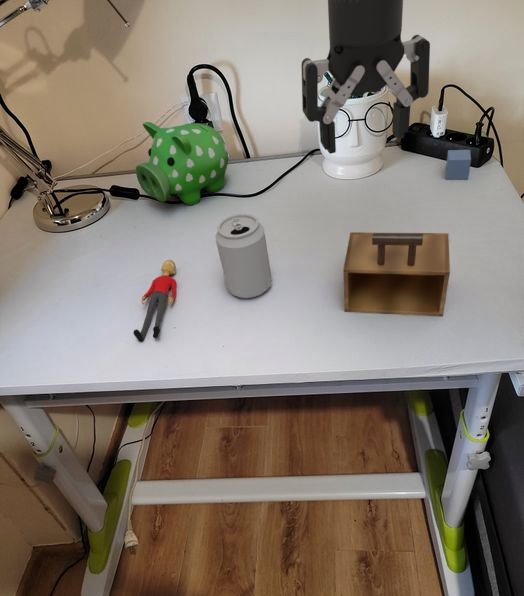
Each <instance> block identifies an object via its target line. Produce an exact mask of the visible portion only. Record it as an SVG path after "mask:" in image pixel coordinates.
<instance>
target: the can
mask: <svg viewBox="0 0 524 596" xmlns="http://www.w3.org/2000/svg"><path fill="white" fill-rule="evenodd" d="M216 228H217V231H216V233H215V235H214V237H215V243H216V248H217V252H218V255H219V260H220V264H221V268H222V272H223V273H222V274H223V276H224V281H225V285H226V289H227V291H228V292H229V293H230V294H231V295H233V296H235V297H238V298H241V299H253V298H257V297H259V296H261V295H262V294H264V293H265V292H266V291H268V289H269V288H270V287H271V286H272V283H273V277H272V271H271V264H270V258H269V251H268V245H267V239H266V238H267V237H266V233H265V227H264V225H262V224H261V222H259V219H258V217H256V216H255V215H253V214H250V213H236V214H231V215H229V216H226V217H225V218H223V219H222V220H220V221H219V223H218V225H217V227H216Z"/></svg>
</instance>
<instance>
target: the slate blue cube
mask: <svg viewBox="0 0 524 596" xmlns="http://www.w3.org/2000/svg"><path fill="white" fill-rule="evenodd" d="M471 163H472V155H471V149H450V150H449V149H448V150H447V155H446V164H445V180H448V181H449V180H450V181H451V180H468V179H469V174H470V169H471Z"/></svg>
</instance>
